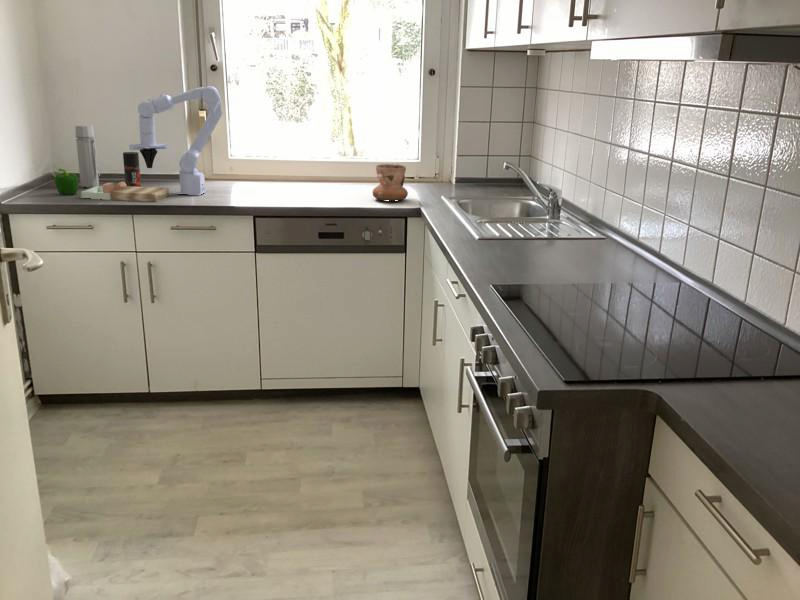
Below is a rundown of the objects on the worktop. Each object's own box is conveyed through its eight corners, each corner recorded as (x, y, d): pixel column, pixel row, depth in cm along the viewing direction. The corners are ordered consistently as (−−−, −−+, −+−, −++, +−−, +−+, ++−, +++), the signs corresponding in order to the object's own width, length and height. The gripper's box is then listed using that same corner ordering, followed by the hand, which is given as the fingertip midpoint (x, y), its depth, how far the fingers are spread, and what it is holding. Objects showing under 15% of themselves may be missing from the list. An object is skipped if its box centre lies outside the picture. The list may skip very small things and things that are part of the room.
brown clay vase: (391, 205, 282) (392, 169, 278) (363, 200, 290) (364, 165, 286) (417, 200, 296) (419, 165, 292) (389, 195, 304) (390, 162, 300)
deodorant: (131, 191, 291) (128, 154, 286) (123, 189, 294) (119, 152, 290) (144, 189, 296) (141, 153, 291) (135, 187, 299) (132, 151, 294)
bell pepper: (84, 193, 283) (81, 167, 280) (73, 196, 275) (70, 170, 272) (64, 192, 284) (61, 166, 281) (52, 195, 276) (49, 169, 273)
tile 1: (126, 185, 283) (123, 181, 283) (121, 187, 278) (118, 183, 278) (118, 192, 284) (114, 188, 284) (112, 194, 280) (109, 190, 279)
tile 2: (113, 182, 276) (108, 182, 277) (107, 184, 272) (102, 184, 272) (114, 195, 278) (109, 195, 278) (108, 197, 273) (103, 197, 273)
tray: (126, 193, 286) (125, 187, 285) (110, 199, 272) (109, 193, 271) (98, 192, 286) (97, 185, 286) (80, 198, 272) (79, 192, 271)
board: (168, 195, 285) (168, 188, 284) (155, 201, 272) (155, 194, 271) (127, 193, 285) (126, 186, 284) (112, 199, 272) (111, 191, 271)
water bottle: (76, 187, 294) (69, 125, 286) (89, 184, 301) (83, 124, 294) (94, 189, 292) (88, 127, 284) (107, 186, 299) (102, 125, 291)
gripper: (133, 134, 272) (136, 170, 276) (169, 133, 282) (171, 168, 286) (126, 132, 277) (128, 167, 281) (161, 132, 286) (163, 165, 291)
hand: (149, 167), depth 284 cm, fingers closed
